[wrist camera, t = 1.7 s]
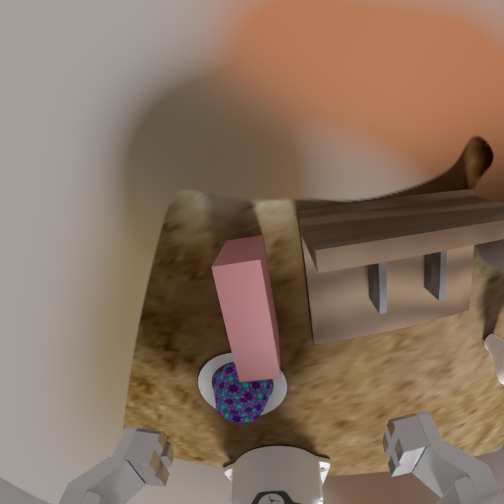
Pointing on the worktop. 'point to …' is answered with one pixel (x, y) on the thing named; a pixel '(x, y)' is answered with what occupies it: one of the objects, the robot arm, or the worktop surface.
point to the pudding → (239, 391)
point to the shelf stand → (393, 260)
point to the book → (248, 308)
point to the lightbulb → (496, 354)
